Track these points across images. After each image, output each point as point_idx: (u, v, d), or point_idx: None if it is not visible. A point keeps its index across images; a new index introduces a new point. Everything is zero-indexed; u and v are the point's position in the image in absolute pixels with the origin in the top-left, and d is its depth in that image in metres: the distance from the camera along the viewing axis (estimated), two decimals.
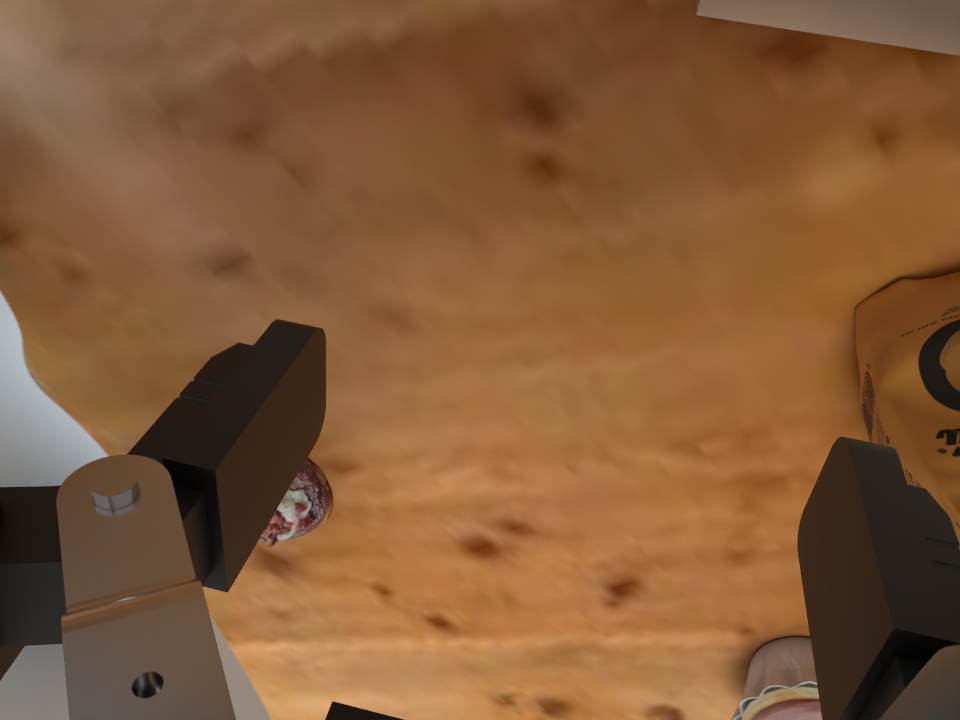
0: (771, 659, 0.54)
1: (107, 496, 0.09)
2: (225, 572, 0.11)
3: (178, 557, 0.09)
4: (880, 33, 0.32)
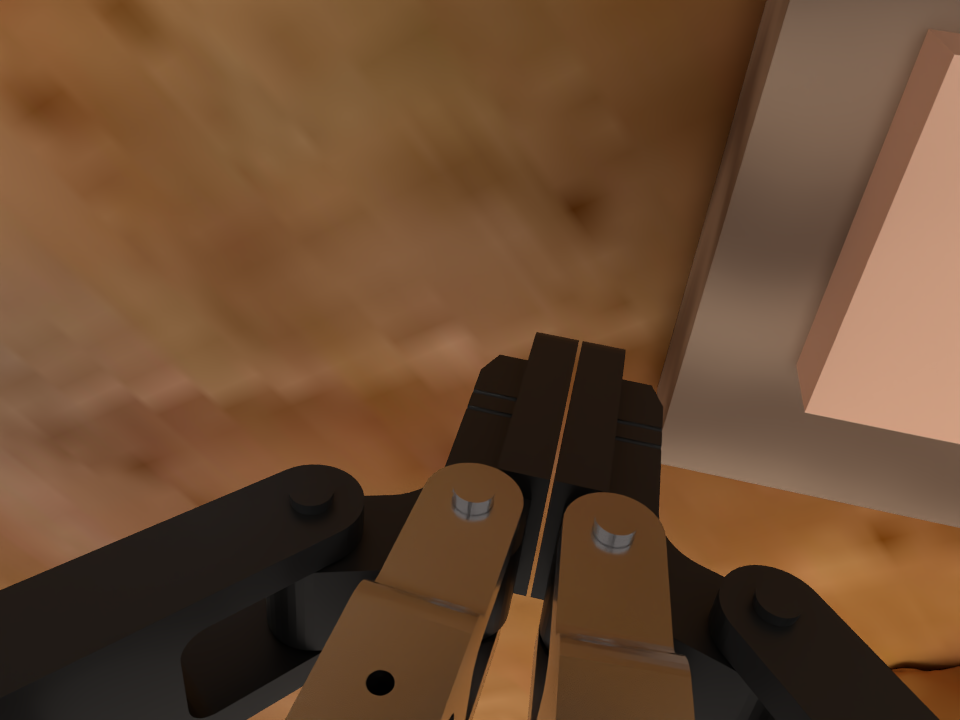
0: None
1: (461, 499, 0.10)
2: (529, 577, 0.11)
3: (483, 584, 0.09)
4: (881, 501, 0.25)
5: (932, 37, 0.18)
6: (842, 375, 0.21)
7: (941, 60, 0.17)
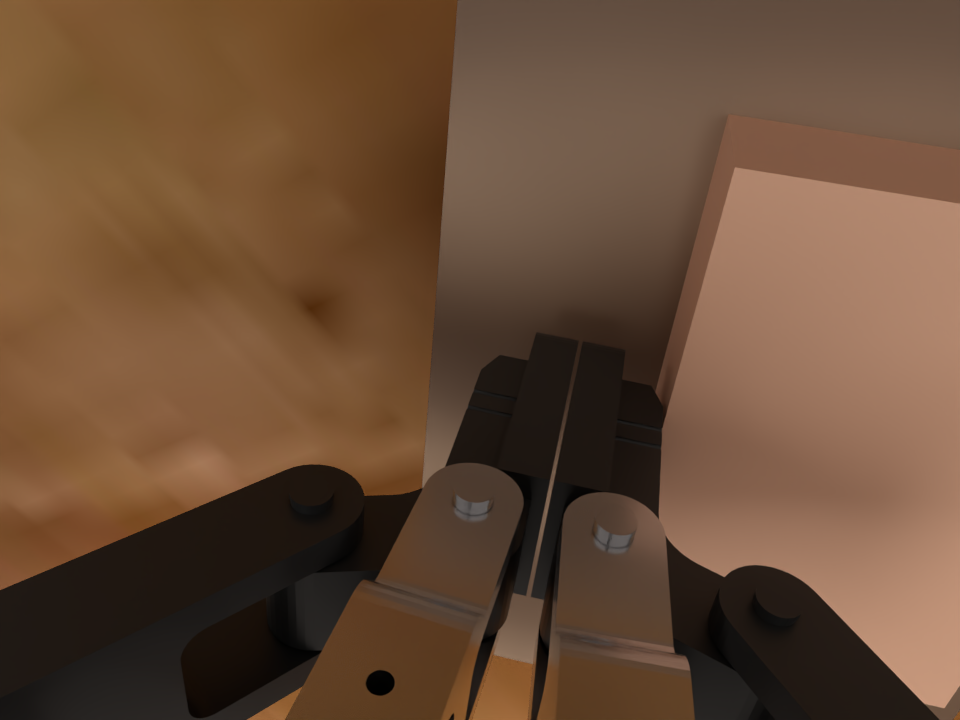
0: None
1: (461, 499, 0.10)
2: (529, 576, 0.11)
3: (483, 584, 0.09)
4: None
5: (728, 129, 0.12)
6: None
7: (727, 170, 0.11)
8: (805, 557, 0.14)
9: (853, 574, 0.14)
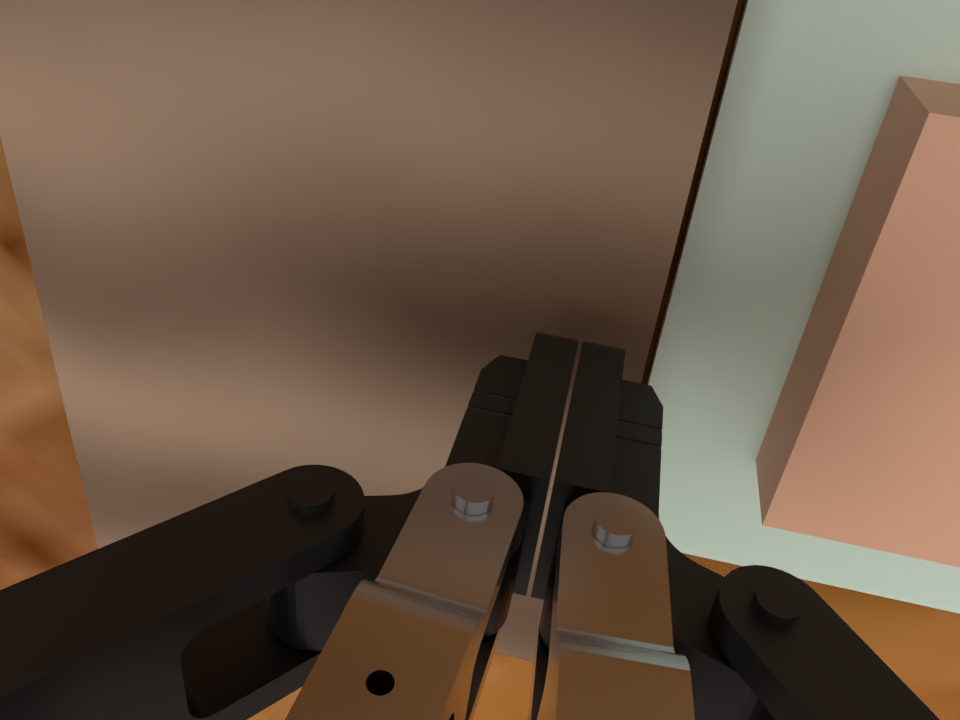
0: None
1: (461, 499, 0.10)
2: (529, 577, 0.11)
3: (483, 585, 0.09)
4: None
5: None
6: None
7: None
8: None
9: None
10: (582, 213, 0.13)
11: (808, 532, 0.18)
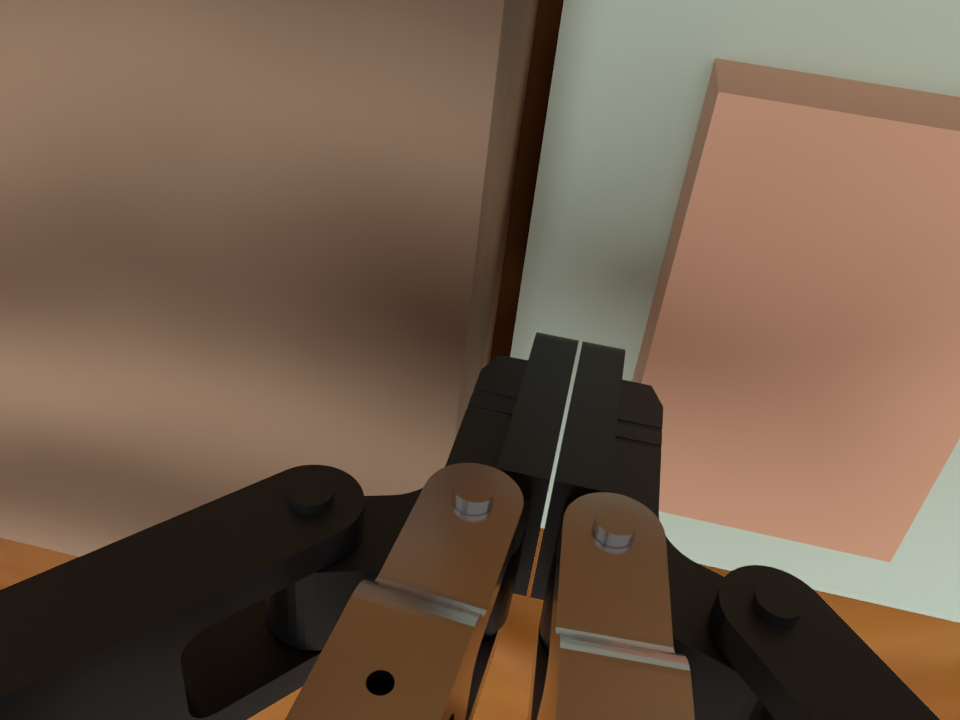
0: None
1: (461, 499, 0.10)
2: (529, 577, 0.11)
3: (483, 585, 0.09)
4: None
5: None
6: None
7: None
8: None
9: None
10: (390, 188, 0.14)
11: None
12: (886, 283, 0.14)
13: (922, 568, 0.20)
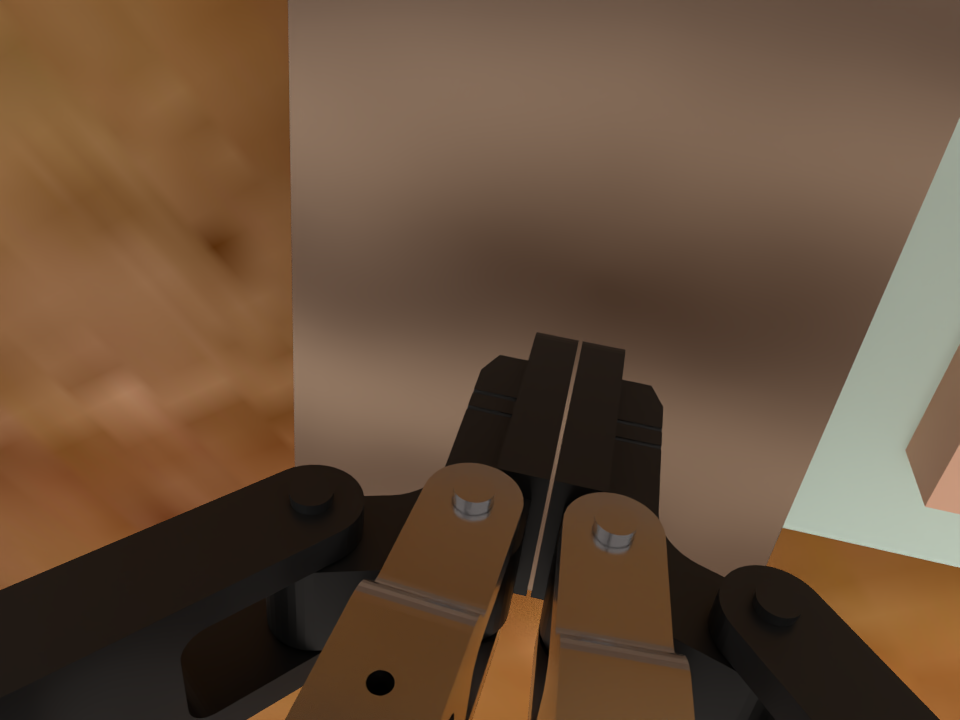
0: None
1: (461, 499, 0.10)
2: (529, 577, 0.11)
3: (483, 585, 0.09)
4: None
5: None
6: None
7: None
8: None
9: None
10: (820, 223, 0.16)
11: None
12: None
13: None
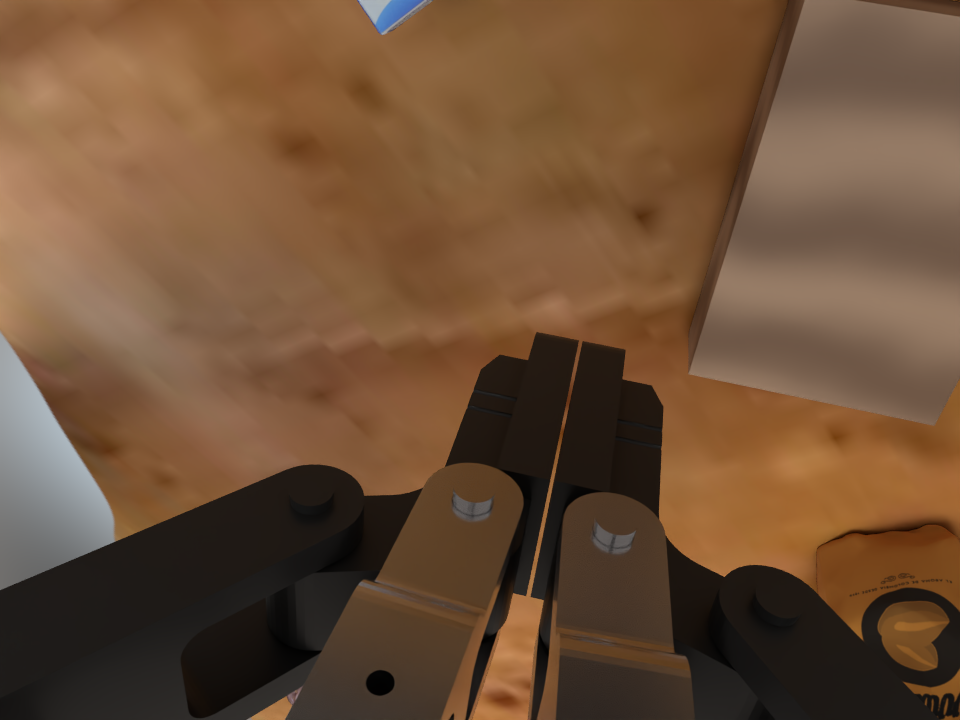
0: None
1: (461, 498, 0.10)
2: (529, 577, 0.11)
3: (483, 584, 0.09)
4: (829, 397, 0.41)
5: None
6: None
7: None
8: None
9: None
10: None
11: None
12: None
13: None
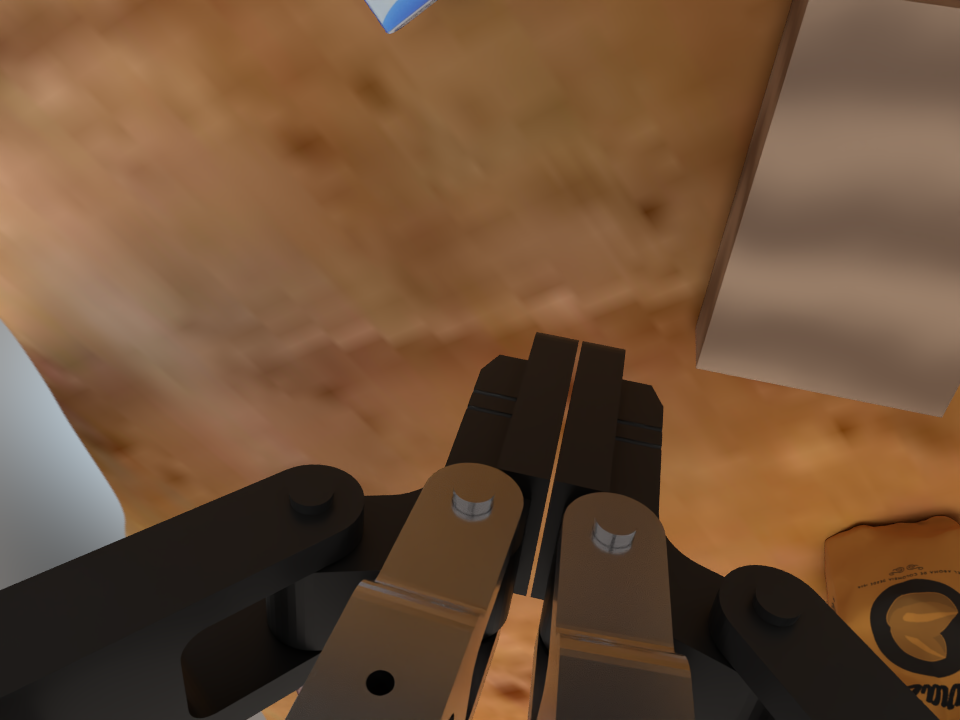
0: None
1: (461, 499, 0.10)
2: (529, 577, 0.11)
3: (483, 585, 0.09)
4: (836, 390, 0.41)
5: None
6: None
7: None
8: None
9: None
10: None
11: None
12: None
13: None
